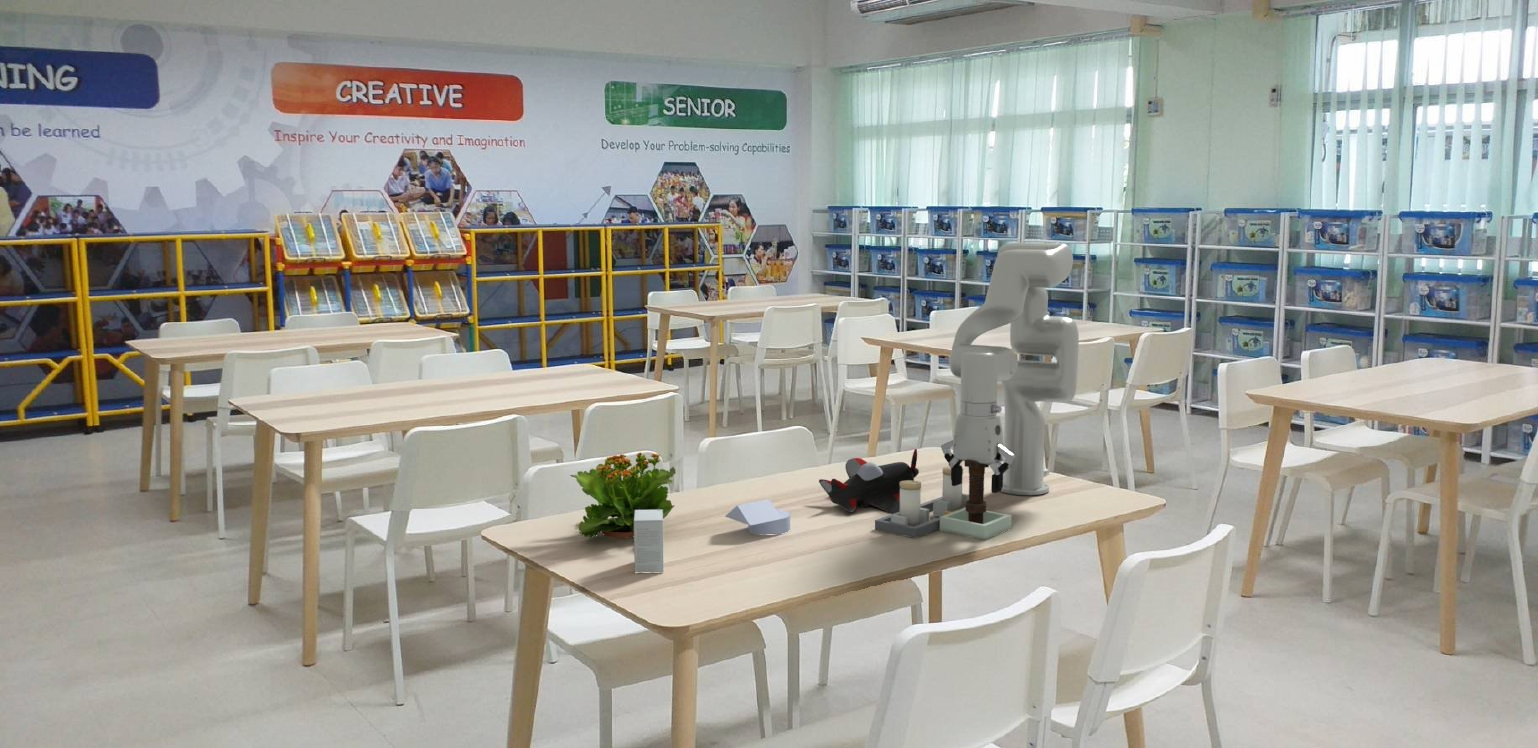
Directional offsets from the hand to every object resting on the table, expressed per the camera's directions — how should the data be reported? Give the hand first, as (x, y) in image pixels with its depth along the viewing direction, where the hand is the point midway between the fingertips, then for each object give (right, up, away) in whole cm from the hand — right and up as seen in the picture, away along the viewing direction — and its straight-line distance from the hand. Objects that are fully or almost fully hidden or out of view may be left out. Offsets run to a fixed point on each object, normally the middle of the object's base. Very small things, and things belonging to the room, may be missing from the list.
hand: (976, 488), depth 250 cm
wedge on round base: (-46, -9, +1) cm, 47 cm away
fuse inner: (-3, -7, +15) cm, 17 cm away
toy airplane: (-20, -6, +24) cm, 32 cm away
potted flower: (-75, -10, +1) cm, 75 cm away
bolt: (0, -9, +1) cm, 9 cm away
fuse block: (-8, -8, +9) cm, 15 cm away
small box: (-67, -13, -24) cm, 72 cm away
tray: (0, -9, +1) cm, 9 cm away
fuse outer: (-14, -9, +3) cm, 17 cm away
